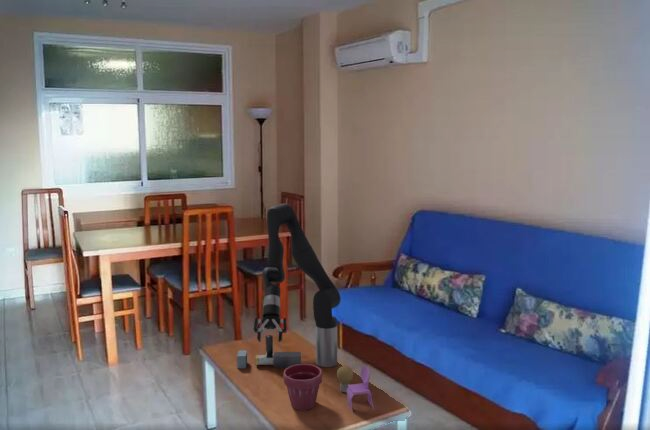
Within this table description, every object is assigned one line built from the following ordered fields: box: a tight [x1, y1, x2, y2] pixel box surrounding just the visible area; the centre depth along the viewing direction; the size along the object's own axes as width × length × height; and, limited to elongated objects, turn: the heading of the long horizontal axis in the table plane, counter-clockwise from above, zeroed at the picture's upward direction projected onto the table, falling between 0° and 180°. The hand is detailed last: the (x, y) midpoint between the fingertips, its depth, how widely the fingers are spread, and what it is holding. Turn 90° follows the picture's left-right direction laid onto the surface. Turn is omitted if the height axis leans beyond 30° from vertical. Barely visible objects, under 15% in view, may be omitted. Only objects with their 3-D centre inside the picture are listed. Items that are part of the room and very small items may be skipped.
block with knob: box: [254, 334, 274, 366], centre depth 237 cm, size 18×3×12 cm, turn 90°
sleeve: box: [273, 351, 302, 369], centre depth 238 cm, size 12×5×5 cm, turn 90°
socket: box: [236, 349, 248, 369], centre depth 238 cm, size 4×6×6 cm, turn 0°
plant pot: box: [283, 363, 323, 411], centre depth 204 cm, size 14×14×13 cm
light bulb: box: [336, 365, 354, 393], centre depth 214 cm, size 6×6×10 cm
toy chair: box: [346, 365, 375, 412], centre depth 202 cm, size 8×9×15 cm
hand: (269, 341), depth 239 cm, fingers open, 8 cm apart
